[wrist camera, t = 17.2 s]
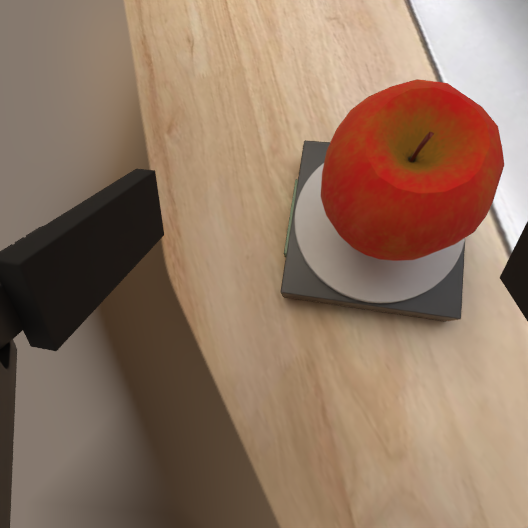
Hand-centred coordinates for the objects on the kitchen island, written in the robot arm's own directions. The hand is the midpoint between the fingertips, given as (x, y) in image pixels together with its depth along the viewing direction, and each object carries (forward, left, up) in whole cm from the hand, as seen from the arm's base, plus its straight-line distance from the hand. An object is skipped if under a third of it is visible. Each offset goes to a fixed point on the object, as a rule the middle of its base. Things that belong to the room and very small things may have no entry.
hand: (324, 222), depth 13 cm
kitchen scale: (+4, +5, -15) cm, 16 cm away
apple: (+4, +5, -12) cm, 13 cm away
